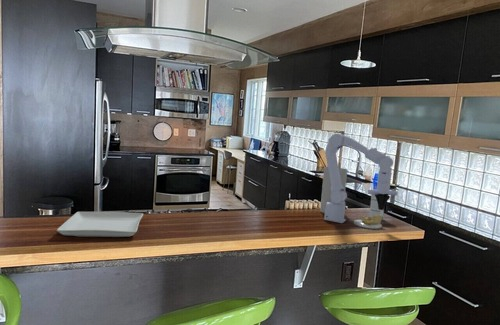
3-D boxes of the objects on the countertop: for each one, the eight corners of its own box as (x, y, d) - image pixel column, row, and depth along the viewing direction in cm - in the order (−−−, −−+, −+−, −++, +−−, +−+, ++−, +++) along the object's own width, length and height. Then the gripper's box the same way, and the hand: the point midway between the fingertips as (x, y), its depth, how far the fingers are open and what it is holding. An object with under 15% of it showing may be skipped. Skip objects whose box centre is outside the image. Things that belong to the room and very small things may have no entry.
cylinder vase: (339, 216, 188) (343, 170, 186) (316, 212, 194) (321, 167, 192) (345, 212, 199) (350, 169, 196) (324, 208, 205) (328, 166, 203)
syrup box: (379, 221, 185) (382, 194, 183) (368, 218, 188) (371, 192, 187) (383, 219, 189) (386, 192, 188) (372, 217, 193) (374, 191, 192)
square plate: (55, 240, 123) (55, 229, 123) (77, 219, 150) (77, 210, 149) (135, 240, 128) (136, 230, 128) (143, 220, 155) (143, 211, 155)
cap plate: (351, 225, 171) (351, 218, 171) (357, 220, 182) (357, 213, 182) (379, 231, 165) (380, 223, 164) (383, 225, 176) (384, 218, 176)
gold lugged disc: (376, 225, 168) (377, 218, 168) (359, 222, 173) (360, 214, 172) (381, 223, 174) (382, 215, 174) (364, 219, 179) (365, 212, 178)
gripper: (374, 182, 162) (371, 211, 163) (402, 183, 165) (399, 212, 166) (366, 179, 169) (363, 207, 170) (393, 181, 172) (390, 208, 173)
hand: (380, 209), depth 168 cm, fingers closed
